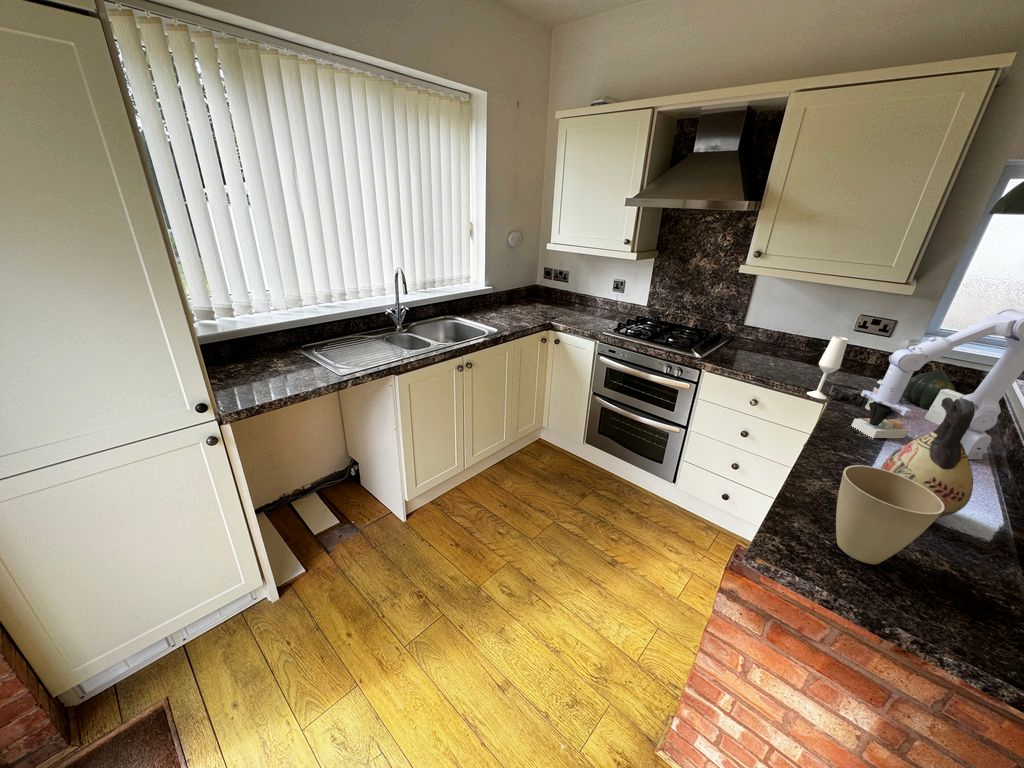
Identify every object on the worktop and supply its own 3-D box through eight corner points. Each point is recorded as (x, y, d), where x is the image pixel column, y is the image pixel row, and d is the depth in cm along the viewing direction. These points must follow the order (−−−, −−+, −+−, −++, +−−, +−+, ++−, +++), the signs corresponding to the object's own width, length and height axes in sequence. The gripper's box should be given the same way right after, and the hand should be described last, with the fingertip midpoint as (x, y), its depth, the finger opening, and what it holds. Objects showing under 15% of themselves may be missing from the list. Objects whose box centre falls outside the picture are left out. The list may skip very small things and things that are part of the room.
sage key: (890, 430, 135) (894, 423, 134) (883, 430, 134) (886, 423, 133) (882, 425, 137) (885, 419, 136) (874, 425, 137) (877, 419, 136)
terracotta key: (901, 430, 135) (904, 423, 134) (893, 430, 135) (896, 423, 134) (892, 425, 138) (895, 419, 137) (884, 425, 137) (887, 419, 137)
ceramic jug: (867, 481, 109) (920, 377, 97) (945, 509, 101) (1015, 399, 89) (866, 512, 97) (928, 398, 85) (956, 547, 88) (1039, 425, 76)
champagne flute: (806, 390, 169) (828, 334, 159) (825, 395, 166) (850, 338, 156) (807, 395, 163) (830, 337, 154) (827, 400, 160) (852, 341, 151)
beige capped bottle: (883, 414, 152) (898, 384, 147) (868, 412, 153) (883, 382, 148) (875, 409, 156) (889, 380, 152) (861, 406, 157) (875, 378, 152)
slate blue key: (878, 433, 134) (882, 427, 133) (871, 433, 134) (874, 427, 133) (870, 428, 137) (873, 422, 136) (862, 428, 137) (865, 422, 136)
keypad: (903, 438, 135) (908, 429, 134) (872, 438, 133) (877, 429, 132) (880, 426, 142) (884, 417, 141) (850, 426, 140) (855, 417, 139)
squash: (911, 395, 158) (955, 372, 152) (887, 382, 172) (927, 360, 166) (931, 422, 159) (976, 400, 153) (906, 407, 173) (947, 386, 167)
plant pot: (861, 525, 92) (893, 466, 86) (925, 581, 78) (968, 515, 72) (798, 523, 91) (826, 462, 85) (851, 578, 78) (888, 512, 71)
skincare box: (923, 418, 151) (939, 389, 147) (930, 418, 153) (947, 388, 148) (943, 427, 146) (960, 396, 141) (951, 426, 147) (968, 395, 143)
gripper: (860, 377, 135) (844, 414, 141) (905, 397, 122) (884, 436, 127) (878, 378, 136) (861, 414, 142) (924, 397, 123) (903, 436, 129)
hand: (873, 425), depth 135 cm, fingers closed, pressing on slate blue key
